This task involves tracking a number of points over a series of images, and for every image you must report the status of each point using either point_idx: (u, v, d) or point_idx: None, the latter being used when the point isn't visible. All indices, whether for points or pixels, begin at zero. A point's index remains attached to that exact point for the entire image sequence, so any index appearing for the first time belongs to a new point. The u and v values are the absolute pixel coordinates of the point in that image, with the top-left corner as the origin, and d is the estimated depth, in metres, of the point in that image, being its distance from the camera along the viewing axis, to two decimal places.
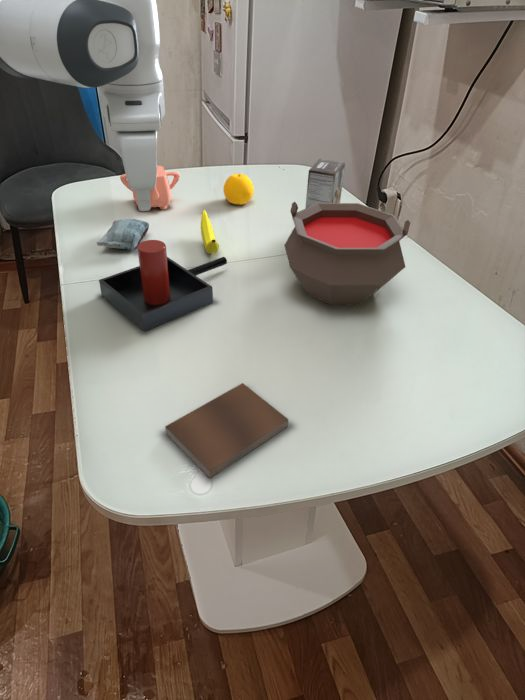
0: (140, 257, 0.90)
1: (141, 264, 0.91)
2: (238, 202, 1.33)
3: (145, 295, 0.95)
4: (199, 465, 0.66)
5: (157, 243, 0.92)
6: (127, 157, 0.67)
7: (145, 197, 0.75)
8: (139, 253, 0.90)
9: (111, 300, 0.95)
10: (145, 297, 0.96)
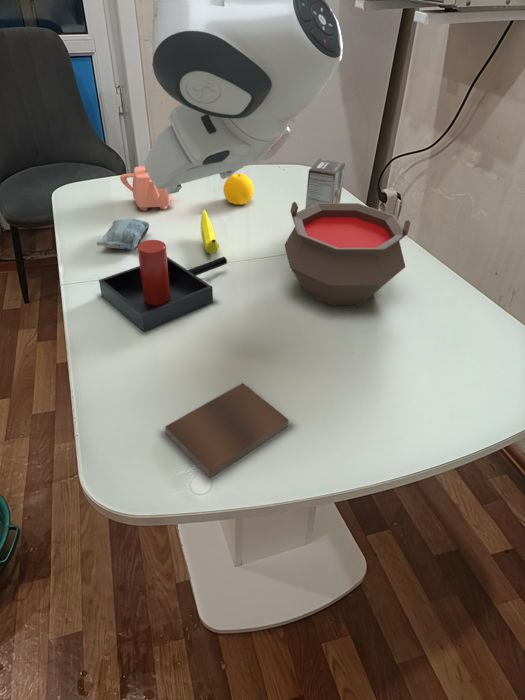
0: (140, 257, 0.90)
1: (141, 264, 0.91)
2: (238, 202, 1.33)
3: (145, 295, 0.95)
4: (199, 465, 0.66)
5: (157, 243, 0.92)
6: (156, 147, 0.59)
7: None
8: (139, 253, 0.90)
9: (111, 300, 0.95)
10: (145, 297, 0.96)
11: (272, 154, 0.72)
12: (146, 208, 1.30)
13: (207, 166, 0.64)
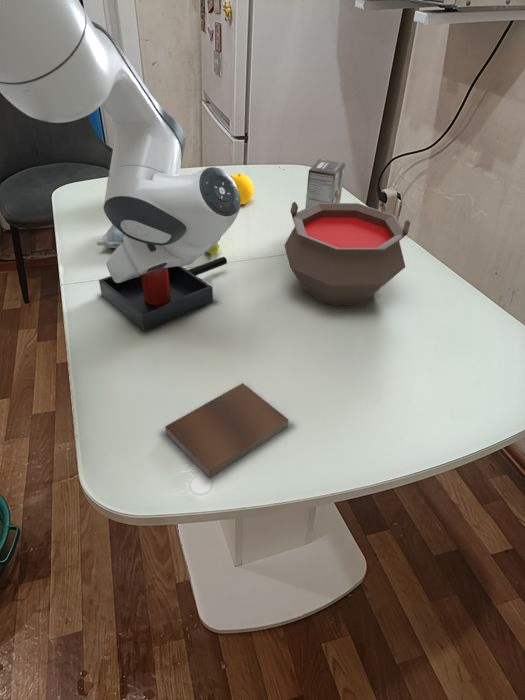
0: None
1: None
2: None
3: (145, 295, 0.95)
4: (199, 465, 0.66)
5: None
6: (114, 256, 0.81)
7: None
8: None
9: (111, 300, 0.95)
10: (145, 297, 0.96)
11: (209, 248, 0.94)
12: None
13: None
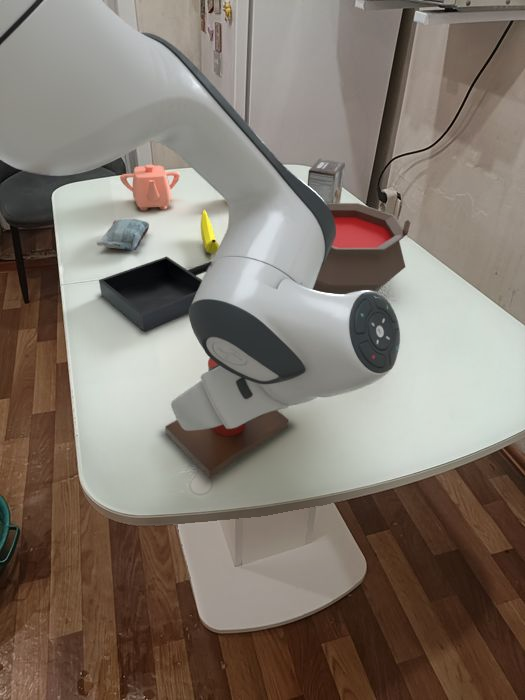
0: None
1: None
2: None
3: None
4: (199, 465, 0.66)
5: None
6: (185, 399, 0.54)
7: None
8: None
9: (111, 300, 0.95)
10: None
11: None
12: (146, 208, 1.30)
13: None
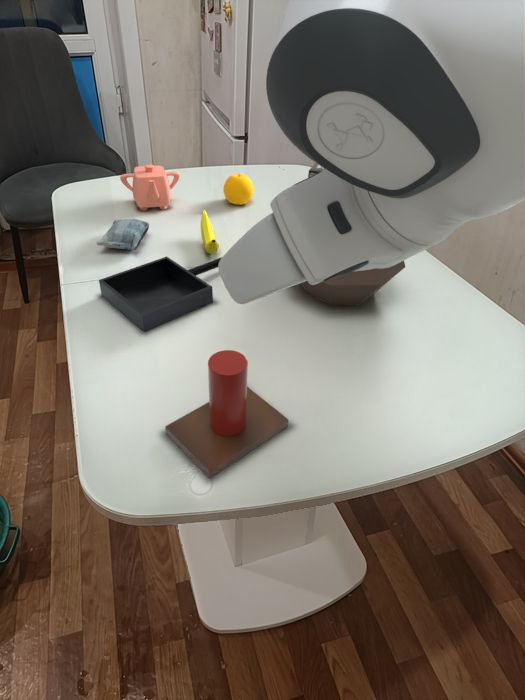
0: (212, 379, 0.64)
1: (213, 387, 0.65)
2: (238, 202, 1.33)
3: (214, 423, 0.69)
4: (199, 465, 0.66)
5: (234, 356, 0.65)
6: (243, 247, 0.36)
7: None
8: (211, 374, 0.63)
9: (111, 300, 0.95)
10: (213, 425, 0.69)
11: None
12: (146, 208, 1.30)
13: None
